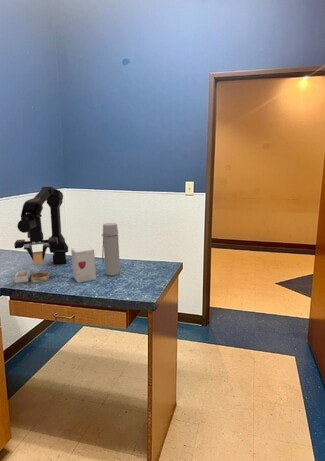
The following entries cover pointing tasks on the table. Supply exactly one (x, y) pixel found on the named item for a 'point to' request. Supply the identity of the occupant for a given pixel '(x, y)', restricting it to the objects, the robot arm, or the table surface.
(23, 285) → the table surface
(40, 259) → the orange block
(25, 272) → the block
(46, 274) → the holder
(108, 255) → the water bottle
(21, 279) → the clip
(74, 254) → the supplement box
